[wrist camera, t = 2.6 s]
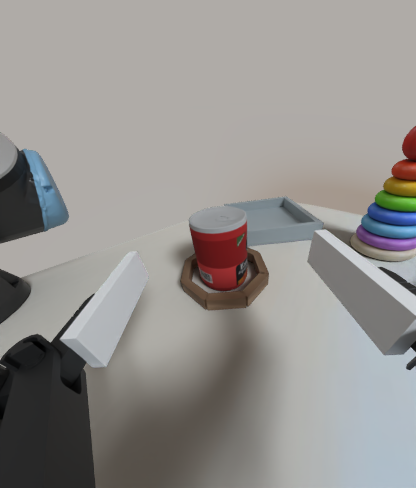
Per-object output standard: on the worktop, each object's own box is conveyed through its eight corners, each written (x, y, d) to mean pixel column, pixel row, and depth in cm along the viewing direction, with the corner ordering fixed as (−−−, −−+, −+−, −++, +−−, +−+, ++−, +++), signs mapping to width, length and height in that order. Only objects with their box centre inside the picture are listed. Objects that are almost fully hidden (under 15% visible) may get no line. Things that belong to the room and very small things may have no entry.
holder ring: (179, 312, 22) (175, 303, 21) (190, 255, 34) (188, 247, 33) (277, 305, 21) (278, 295, 20) (254, 249, 33) (254, 240, 32)
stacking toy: (343, 235, 32) (385, 119, 22) (398, 239, 29) (476, 105, 19) (355, 259, 26) (419, 116, 16) (426, 267, 23) (559, 95, 13)
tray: (230, 247, 34) (229, 233, 32) (224, 215, 49) (223, 204, 47) (319, 238, 32) (323, 223, 31) (285, 208, 48) (286, 196, 46)
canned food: (249, 292, 24) (249, 226, 18) (197, 292, 25) (181, 230, 19) (245, 260, 30) (244, 203, 24) (204, 261, 31) (193, 208, 26)
